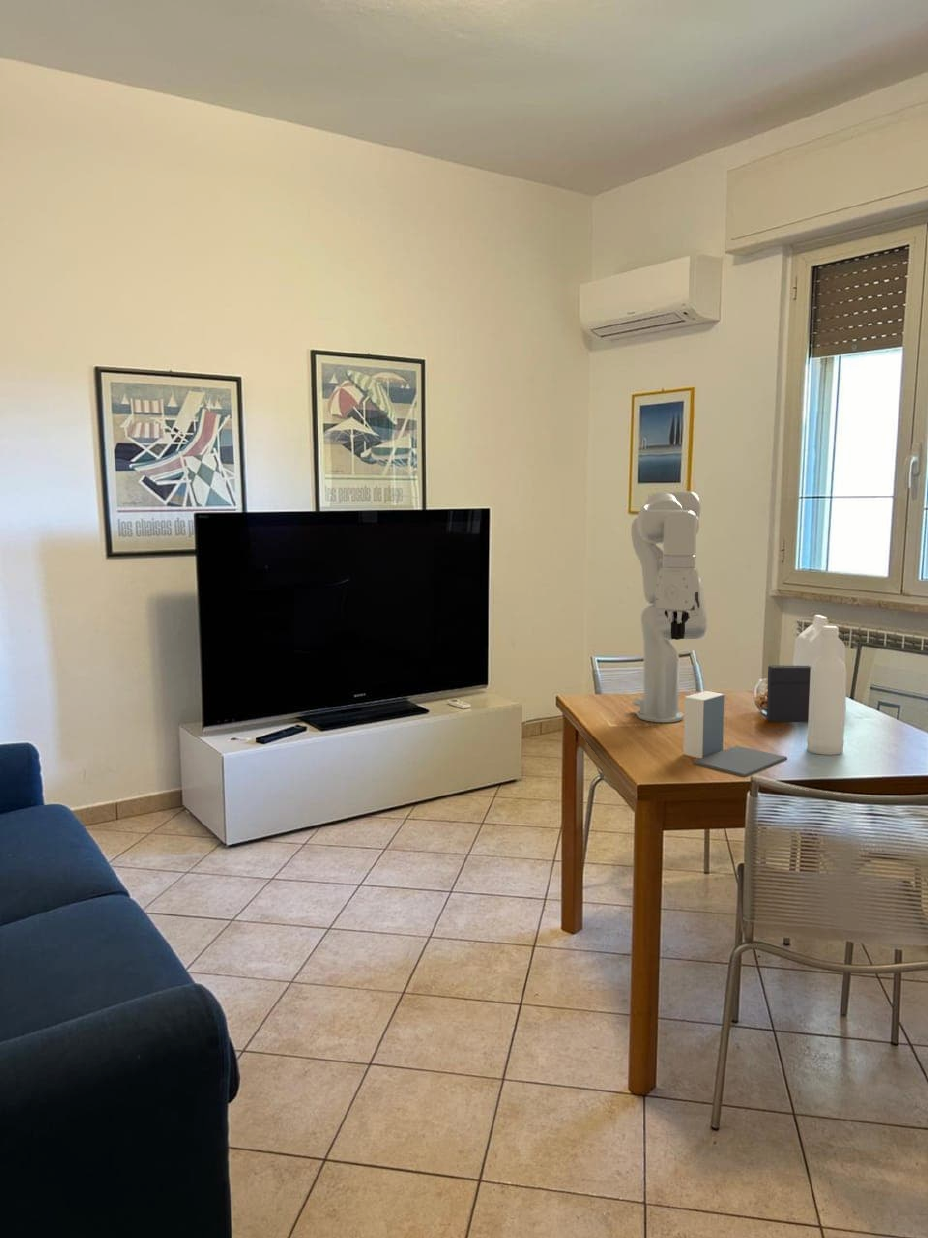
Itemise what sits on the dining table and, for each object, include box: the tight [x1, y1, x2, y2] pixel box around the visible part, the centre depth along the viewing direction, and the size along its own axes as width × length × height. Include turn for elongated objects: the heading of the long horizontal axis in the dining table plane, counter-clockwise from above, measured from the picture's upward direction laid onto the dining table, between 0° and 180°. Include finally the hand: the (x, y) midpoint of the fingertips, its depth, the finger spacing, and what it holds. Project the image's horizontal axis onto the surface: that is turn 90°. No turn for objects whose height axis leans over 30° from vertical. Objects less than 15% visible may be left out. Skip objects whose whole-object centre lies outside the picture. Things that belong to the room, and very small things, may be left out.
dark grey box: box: [766, 665, 811, 723], centre depth 231 cm, size 11×4×15 cm, turn 84°
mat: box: [693, 745, 788, 777], centre depth 197 cm, size 13×18×1 cm
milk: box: [792, 614, 847, 710], centre depth 248 cm, size 12×12×26 cm
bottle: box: [806, 625, 847, 756], centre depth 202 cm, size 8×8×30 cm
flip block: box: [683, 690, 726, 759], centre depth 203 cm, size 5×9×14 cm, turn 131°
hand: (677, 638), depth 206 cm, fingers closed
